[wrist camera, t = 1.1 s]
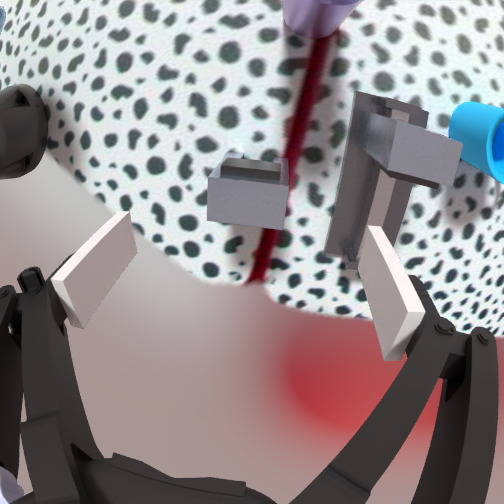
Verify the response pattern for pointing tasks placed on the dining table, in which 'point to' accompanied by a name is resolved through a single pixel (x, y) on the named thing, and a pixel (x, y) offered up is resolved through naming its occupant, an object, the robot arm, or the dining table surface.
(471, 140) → the mug
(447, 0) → the dining table surface
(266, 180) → the stepped metal block
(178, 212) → the dining table surface
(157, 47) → the dining table surface
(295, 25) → the beverage can
